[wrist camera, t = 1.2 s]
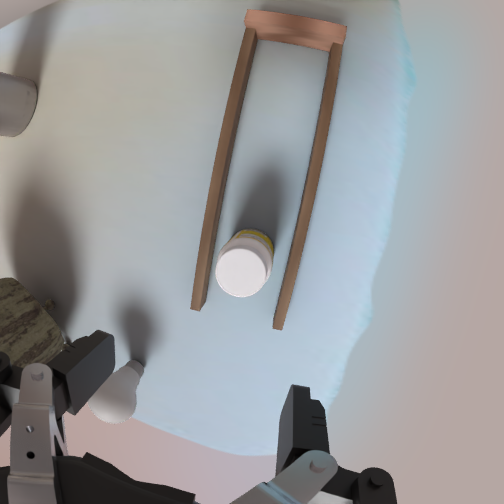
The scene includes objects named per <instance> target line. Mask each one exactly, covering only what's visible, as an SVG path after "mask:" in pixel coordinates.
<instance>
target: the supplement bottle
mask: <svg viewBox="0 0 504 504" xmlns="http://www.w3.org/2000/svg"><path fill="white" fill-rule="evenodd" d="M273 256H274V247H273V243H272V241H271V239H270V238H269V236H268V235H267V234H265V233H264V232H263V231H261V230H258V229H254V228H247V229H243V230H241V231H239V232H237V233H236V234H235V235H234V236H233V237H232V238H231V239H230V240H229V241H228V242H227V243H226V244H225V245H224V246H223V248H222V249H221V250H220V252H219V255H218V258H217V265H216V278H217V281H218V283H219V285H220V286H221V288H222V289H223V290H224V291H225V292H227V293H228V294H230V295H233V296H236V297H247V296H251V295H253V294H255V293H256V292H258V291H259V290H260V289H261V287H262V286H263V284H264V283H265V282H266V281H267V280H268V278H269V276H270V274H271V271H272V265H273Z"/></svg>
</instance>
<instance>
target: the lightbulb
mask: <svg viewBox="0 0 504 504" xmlns="http://www.w3.org/2000/svg"><path fill="white" fill-rule="evenodd" d="M143 373H144V369H143V366H142V365H141V364H140V363H139V362H138V361H135V360H131V361H129V362H128V363H127V364H126V365H125V366H123V367H121V368H120V369H119V370H118V371H116V372H114V373H112V374H111V375H110V376H109V377H108V379H107V380H106V381H105V382H104V383H103V384H102V385H101V386H100V388H99V389H98V390H97V391H96V392H95V393H94V394H93V396H92V397H91V398H90V399H89V400H88V405H89V407H90V409H91V411H92V412H93V413H94V414H95V415H96V416H97V417H98V418H99V419H101V420H103V421H105V422H107V423H121V422H124V421H126V420H128V419H129V418H130V417H131V416H132V415H133V413H134V411H135V409H136V404H137V401H136V389H137V386H138V384H139V382H140V378H141V376H142V375H143Z"/></svg>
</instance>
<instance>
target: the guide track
mask: <svg viewBox="0 0 504 504" xmlns="http://www.w3.org/2000/svg"><path fill="white" fill-rule="evenodd" d="M244 22H245V26H246V30H245V33H244V37H243V41H242V45H241V48H240V52H239V56H238V60H237V64H236V68H235V72H234V76H233V80H232V84H231V89H230V93H229V97H228V101H227V106H226V110H225V115H224V119H223V124H222V128H221V133H220V138H219V143H218V147H217V152H216V157H215V162H214V167H213V172H212V178H211V183H210V188H209V194H208V199H207V205H206V210H205V216H204V222H203V228H202V234H201V240H200V246H199V252H198V259H197V265H196V272H195V279H194V286H193V293H192V300H191V308H190V309H192V310H196V311H200V310H201V308H202V307H203V305H204V304H205V301H206V295H207V288H208V282H209V276H210V270H211V264H212V258H213V252H214V246H215V241H216V235H217V229H218V224H219V218H220V213H221V207H222V202H223V197H224V191H225V186H226V181H227V176H228V171H229V166H230V161H231V156H232V151H233V146H234V141H235V137H236V132H237V127H238V123H239V118H240V113H241V109H242V104H243V100H244V95H245V91H246V87H247V82H248V78H249V74H250V70H251V65H252V61H253V57H254V53H255V49H256V45H257V41H258V39H262V40H269V41H276V42H283V43H289V44H294V45H300V46H305V47H310V48H315V49H319V50H324V51H328V52H330V53H329V59H328V65H327V71H326V77H325V83H324V88H323V94H322V100H321V105H320V111H319V116H318V121H317V126H316V132H315V137H314V142H313V147H312V152H311V157H310V162H309V167H308V172H307V176H306V181H305V186H304V191H303V195H302V200H301V205H300V209H299V214H298V218H297V223H296V227H295V231H294V236H293V240H292V245H291V249H290V253H289V257H288V262H287V266H286V270H285V274H284V278H283V282H282V286H281V291H280V295H279V299H278V303H277V307H276V310H275V314H274V318H273V329H277V330H282V329H283V325H284V321H285V318H286V314H287V310H288V306H289V303H290V299H291V295H292V291H293V287H294V284H295V280H296V276H297V272H298V268H299V264H300V260H301V256H302V251H303V247H304V243H305V239H306V235H307V230H308V226H309V222H310V217H311V213H312V208H313V204H314V199H315V195H316V190H317V186H318V181H319V176H320V171H321V166H322V161H323V156H324V151H325V146H326V141H327V136H328V131H329V125H330V120H331V114H332V109H333V103H334V97H335V91H336V85H337V79H338V73H339V66H340V60H341V53H342V46H343V43H344V40H345V37H346V29H347V26H344V25H340V24H336V23H331V22H327V21H323V20H318V19H313V18H308V17H303V16H297V15H291V14H284V13H277V12H269V11H260V10H249V9H247V13H246V16H245V20H244Z"/></svg>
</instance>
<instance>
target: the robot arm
mask: <svg viewBox="0 0 504 504" xmlns="http://www.w3.org/2000/svg"><path fill="white" fill-rule="evenodd" d="M36 100H37V89H36V86H35V84H34V82H32V81H31V80H28V79H24V78H21V77H17V76H14V75H10V74H6V73H3V72H0V136H8V137H15V136H17V135H19V134H20V133H21V132H22V131H23V130H24V129H25V128H26V126H27V125H28V123H29V121H30V120H31V117H32V115H33V113H34V109H35V106H36ZM114 367H115V345H114V336H113V335H111V334H109V333H106V332H103V331H101V330H96V331H95V332H94V333H93V334H91V335H90V336H89V337H88V336H85V337H82V338H79V339H76V340H75V341H74V342H73V343H71V344H70V346H68V347H66V348H65V350H63V351H61V352H60V353H59V354H58V355H56V356H55V357H54V358H53V359H52V360H50V361H49V362H48V363H47V364H41V363H33V364H30V365H28V366H26V367H25V368H21V367H18V366H15V365H11V361H10V358H9V356H8V355H7V354H6V353H4V352H1V351H0V437H1V435H2V434H3V433H4V432H5V431H6V430H7V429H8V428H9V426H10V425H11V441H10V466H6V467H0V504H199V503H198V502H195V494H193V493H189V492H186V491H182V490H179V489H176V488H173V487H169V486H166V485H159V484H152V483H146V482H140V481H135V480H133V479H132V478H130V477H129V476H127V475H126V474H124V473H123V472H121V471H120V470H119V469H117V468H116V467H115V466H113V465H112V464H110V463H108V462H106V461H104V460H102V459H100V458H97V457H96V456H94V455H91V454H90V453H88V452H86V454H85V455H84V456H83V458H81V457H76V456H69V455H68V450H67V444H66V435H65V426H64V417H63V414H64V413H65V412H66V411H67V412H69V413H71V414H73V415H76V414H77V413H78V412H79V410H80V409H81V408H82V407H83V406H84V405H85V404H86V402H87V401H88V400H89V399H90V398H91V397H92V396H93V394H94V393H95V392H96V391H97V390H98V389H99V388H100V386H101V385H102V384H103V383H104V382H105V381H106V380H107V379H108V377H109V376H110V375H111V374H112V372H113V370H114ZM325 419H326V416H325V409H324V407H323V406H322V404H321V403H320V401H319V400H313V399H310V388H309V387H305V386H299V385H293V384H292V385H291V387H290V390H289V393H288V395H287V398H286V401H285V404H284V406H283V409H282V412H281V416H280V422H279V436H278V450H277V463H276V475H275V478H273V479H272V480H271V481H269V482H268V483H265V482H262V483H260V484H258V485H257V486H255V487H254V488H253V489H251V490H250V491H248V492H247V493H245V494H244V495H242V496H241V497H239V498H237V499H236V500H234V501H233V502H232V503H230V504H397V500H396V494H395V488H394V482H393V479H392V477H391V476H390V474H389V473H388V472H386V471H385V470H383V469H380V468H375V467H374V468H367V469H365V470H363V471H362V472H361V473H357V472H353V471H350V470H346V469H344V468H342V467H340V466H338V464H337V462H336V460H335V458H334V457H333V456H331V455H330V451H329V442H328V433H327V427H326V425H327V424H326V420H325Z"/></svg>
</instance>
